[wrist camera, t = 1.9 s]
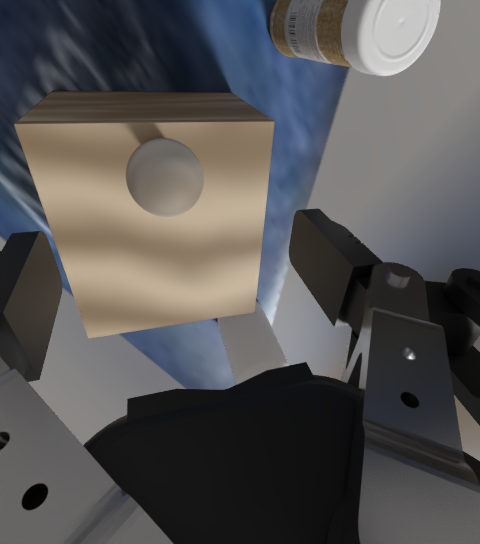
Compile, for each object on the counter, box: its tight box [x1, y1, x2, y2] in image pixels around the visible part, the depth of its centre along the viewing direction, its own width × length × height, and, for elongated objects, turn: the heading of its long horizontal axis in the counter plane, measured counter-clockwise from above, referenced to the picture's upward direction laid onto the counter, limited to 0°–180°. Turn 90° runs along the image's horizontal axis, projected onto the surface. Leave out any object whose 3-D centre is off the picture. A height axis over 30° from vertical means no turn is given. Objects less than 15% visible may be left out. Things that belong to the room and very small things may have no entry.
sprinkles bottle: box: [270, 0, 441, 76], centre depth 21 cm, size 5×5×13 cm
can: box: [218, 301, 289, 385], centre depth 40 cm, size 6×6×12 cm
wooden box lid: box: [14, 119, 275, 338], centre depth 20 cm, size 16×14×7 cm
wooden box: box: [18, 91, 270, 121], centre depth 27 cm, size 16×14×10 cm
